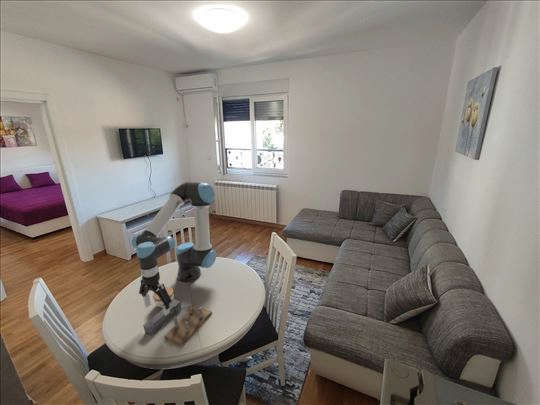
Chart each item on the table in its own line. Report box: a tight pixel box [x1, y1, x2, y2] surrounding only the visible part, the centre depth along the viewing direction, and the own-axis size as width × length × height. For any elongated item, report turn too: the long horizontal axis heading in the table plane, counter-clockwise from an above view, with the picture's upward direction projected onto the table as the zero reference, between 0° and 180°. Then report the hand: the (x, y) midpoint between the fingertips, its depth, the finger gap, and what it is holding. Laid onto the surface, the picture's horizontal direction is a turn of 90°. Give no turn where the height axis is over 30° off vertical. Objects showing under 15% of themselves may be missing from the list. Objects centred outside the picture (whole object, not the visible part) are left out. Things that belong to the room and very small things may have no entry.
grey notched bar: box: [142, 298, 182, 337], centre depth 126 cm, size 20×5×5 cm, turn 155°
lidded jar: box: [152, 286, 175, 309], centre depth 137 cm, size 11×11×9 cm
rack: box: [164, 303, 213, 347], centre depth 122 cm, size 22×11×8 cm, turn 155°
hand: (157, 309), depth 122 cm, fingers open, 13 cm apart
